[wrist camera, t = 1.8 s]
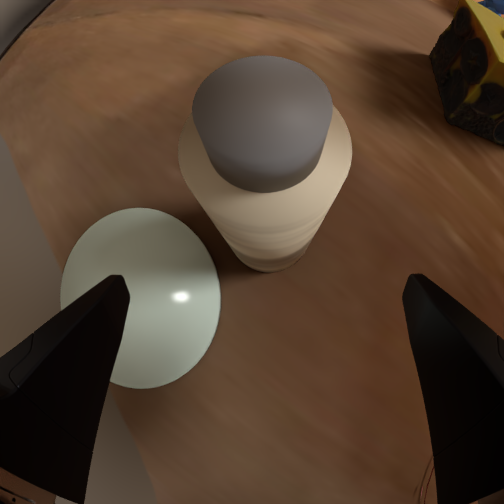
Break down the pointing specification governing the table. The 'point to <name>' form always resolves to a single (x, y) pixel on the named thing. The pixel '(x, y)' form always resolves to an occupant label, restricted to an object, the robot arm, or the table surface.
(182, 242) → the pale green coaster
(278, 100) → the pepper mill
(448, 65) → the black and yellow cube
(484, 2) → the grapes
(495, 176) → the table surface
